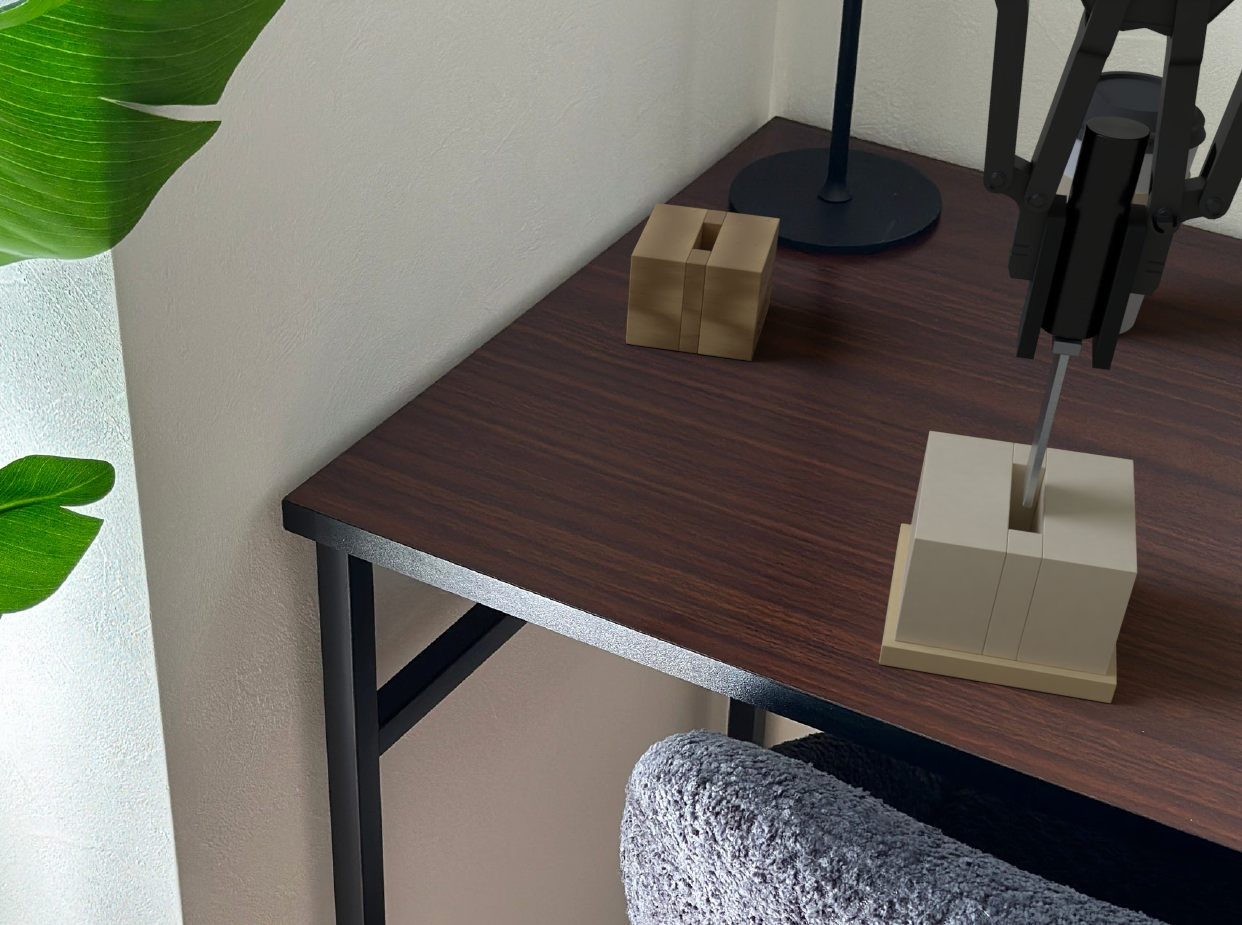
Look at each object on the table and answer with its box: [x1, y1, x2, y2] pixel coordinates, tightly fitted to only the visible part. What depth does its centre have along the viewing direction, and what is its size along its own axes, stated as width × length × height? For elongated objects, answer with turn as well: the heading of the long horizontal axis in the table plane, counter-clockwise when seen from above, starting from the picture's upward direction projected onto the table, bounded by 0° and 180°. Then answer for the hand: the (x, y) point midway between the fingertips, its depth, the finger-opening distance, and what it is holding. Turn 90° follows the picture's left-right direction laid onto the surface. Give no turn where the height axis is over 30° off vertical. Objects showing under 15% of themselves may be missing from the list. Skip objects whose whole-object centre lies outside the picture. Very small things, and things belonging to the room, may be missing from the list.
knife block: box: [625, 202, 781, 362], centre depth 108 cm, size 8×8×6 cm
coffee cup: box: [1056, 70, 1207, 335], centre depth 108 cm, size 9×9×15 cm
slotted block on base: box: [878, 430, 1138, 704], centre depth 84 cm, size 11×11×7 cm
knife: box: [1023, 116, 1150, 508], centre depth 76 cm, size 3×3×18 cm
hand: (1063, 348), depth 77 cm, fingers closed on knife, 3 cm apart
